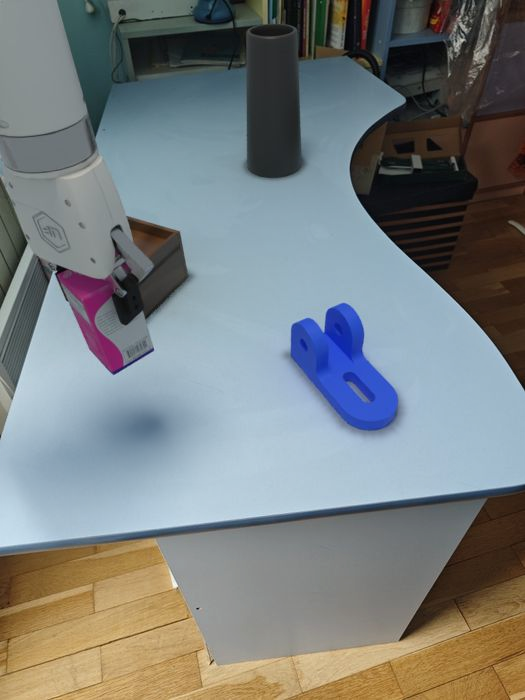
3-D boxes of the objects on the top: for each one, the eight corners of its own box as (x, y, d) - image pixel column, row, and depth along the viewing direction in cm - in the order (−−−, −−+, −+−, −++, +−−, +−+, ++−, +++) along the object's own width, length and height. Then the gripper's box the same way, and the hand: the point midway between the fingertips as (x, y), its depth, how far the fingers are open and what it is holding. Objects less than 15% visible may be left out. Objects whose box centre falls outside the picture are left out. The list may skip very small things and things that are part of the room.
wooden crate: (82, 309, 86) (63, 263, 79) (138, 260, 96) (126, 215, 88) (135, 330, 82) (120, 283, 75) (188, 276, 92) (180, 231, 84)
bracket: (290, 355, 77) (291, 313, 70) (334, 336, 79) (338, 294, 73) (360, 439, 66) (368, 399, 59) (407, 413, 68) (420, 372, 62)
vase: (262, 148, 128) (258, 18, 107) (310, 158, 123) (315, 24, 102) (237, 171, 120) (226, 35, 99) (286, 182, 115) (286, 42, 94)
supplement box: (129, 325, 60) (105, 249, 52) (155, 351, 57) (135, 274, 49) (87, 349, 58) (54, 272, 49) (112, 377, 55) (82, 300, 46)
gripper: (-62, 139, 40) (22, 301, 53) (95, 184, 34) (146, 355, 47) (10, 107, 45) (71, 264, 58) (160, 142, 39) (191, 309, 52)
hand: (105, 304), depth 52 cm, fingers closed on supplement box, 7 cm apart
